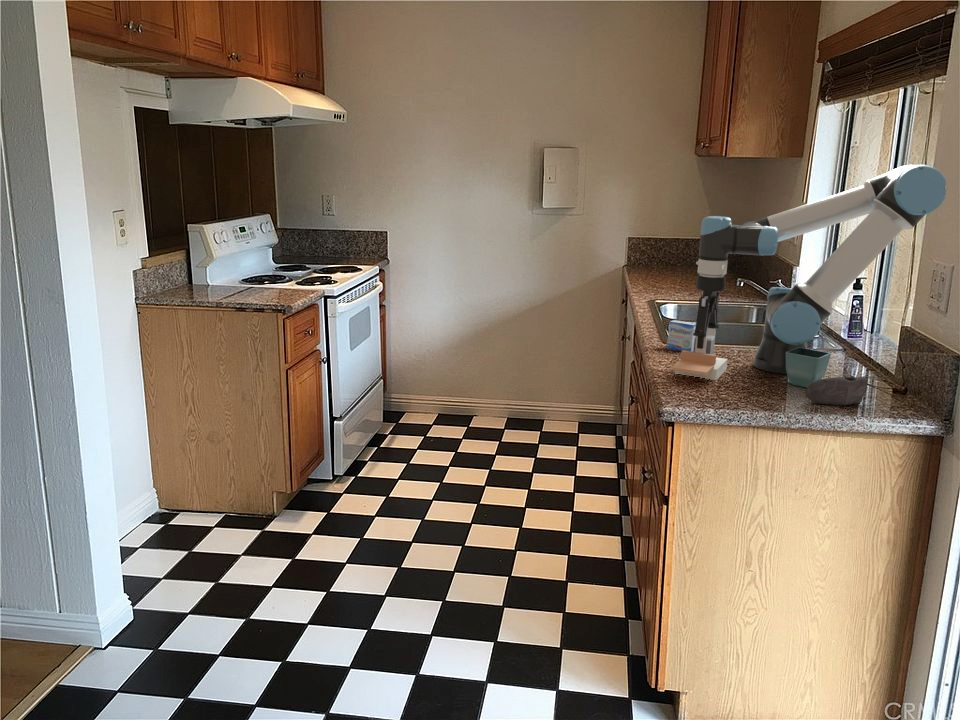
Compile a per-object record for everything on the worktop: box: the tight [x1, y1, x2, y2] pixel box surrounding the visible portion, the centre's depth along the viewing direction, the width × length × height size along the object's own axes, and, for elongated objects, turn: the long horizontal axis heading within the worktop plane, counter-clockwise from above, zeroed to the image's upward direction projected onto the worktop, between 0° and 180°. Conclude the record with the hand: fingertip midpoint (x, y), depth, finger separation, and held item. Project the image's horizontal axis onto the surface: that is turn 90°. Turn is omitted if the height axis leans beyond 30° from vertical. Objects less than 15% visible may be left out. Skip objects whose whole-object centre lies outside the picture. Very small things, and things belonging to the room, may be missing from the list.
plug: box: [693, 335, 716, 354], centre depth 221 cm, size 4×4×10 cm
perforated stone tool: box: [805, 376, 868, 406], centre depth 195 cm, size 15×5×7 cm, turn 89°
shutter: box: [671, 350, 717, 375], centre depth 212 cm, size 9×10×3 cm
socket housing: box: [674, 356, 728, 381], centre depth 221 cm, size 11×14×3 cm
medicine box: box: [666, 319, 696, 352], centre depth 247 cm, size 8×4×9 cm, turn 55°
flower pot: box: [786, 347, 832, 389], centre depth 211 cm, size 9×9×9 cm
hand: (704, 355), depth 221 cm, fingers open, 10 cm apart
